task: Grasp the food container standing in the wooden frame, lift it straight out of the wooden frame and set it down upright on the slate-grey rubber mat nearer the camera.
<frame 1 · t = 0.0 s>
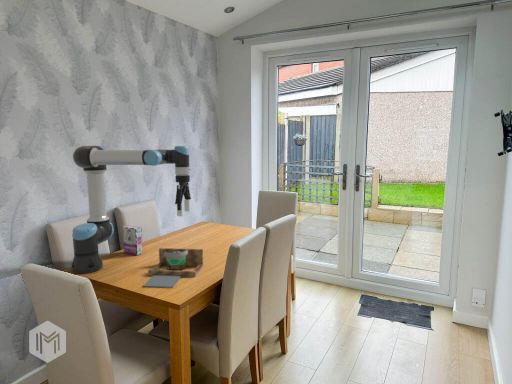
hand: (183, 213, 195), 28 cm above the table, fingers open, 13 cm apart
mat: (162, 281, 172), on the table
candy bar box: (133, 253, 216), on the table
food container: (176, 270, 187), resting in wooden frame
wooden frame: (176, 270, 187), on the table
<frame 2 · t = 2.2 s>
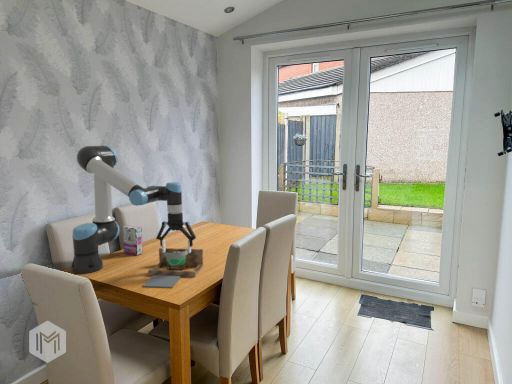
hand: (176, 252, 186), 10 cm above the table, fingers open, 13 cm apart
food container: (176, 270, 187), resting in wooden frame, touching gripper
everything else where it was.
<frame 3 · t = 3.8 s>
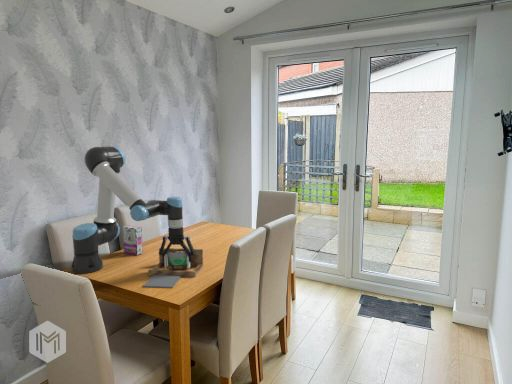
hand: (177, 267, 187), 1 cm above the table, fingers closed on food container, 11 cm apart
food container: (179, 270, 187), resting in wooden frame, touching gripper
everything else where it was.
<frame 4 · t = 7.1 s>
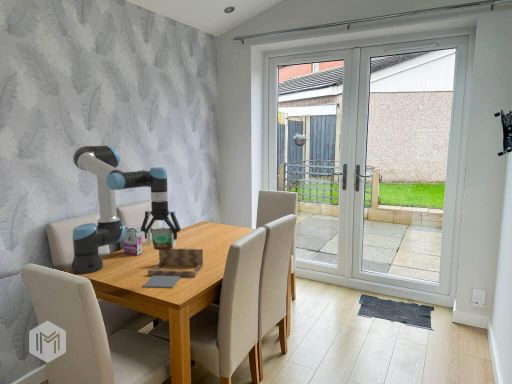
hand: (161, 245, 169), 18 cm above the table, fingers closed on food container, 11 cm apart
food container: (163, 249, 170), point 16 cm above the table, touching gripper
everything else where it was.
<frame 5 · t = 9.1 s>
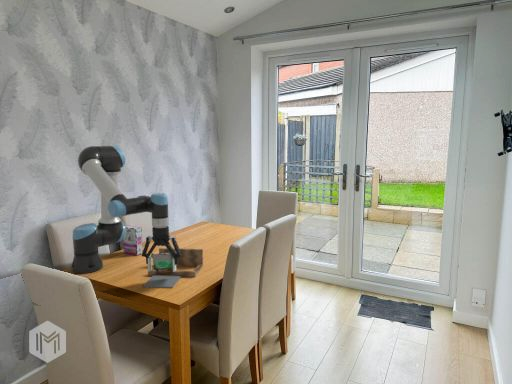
hand: (162, 270, 171), 5 cm above the table, fingers closed on food container, 11 cm apart
food container: (164, 273, 171), point 4 cm above the table, touching gripper
everything else where it was.
when the fingers open (3 cm above the table, at t = 10.8 s): food container stays where it is, resting on mat.
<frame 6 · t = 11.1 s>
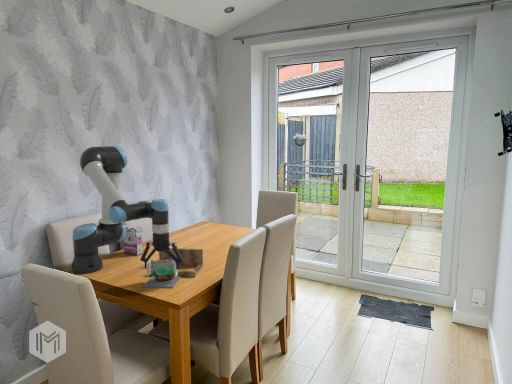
hand: (162, 275, 171), 3 cm above the table, fingers open, 13 cm apart
food container: (164, 280, 172), resting on mat
everything else where it was.
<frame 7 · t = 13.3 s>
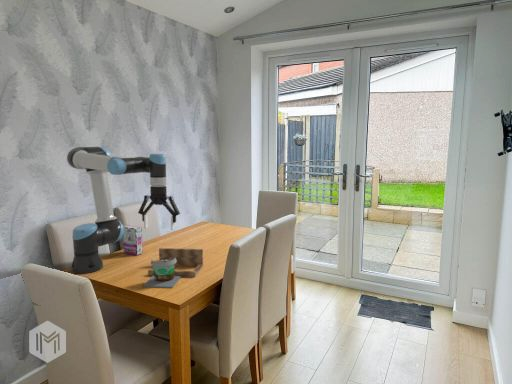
hand: (159, 228, 176), 24 cm above the table, fingers open, 13 cm apart
nothing on the table moved.
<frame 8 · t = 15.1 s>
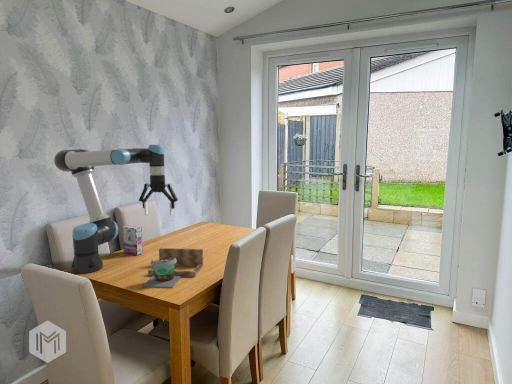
hand: (158, 214, 188), 29 cm above the table, fingers open, 13 cm apart
nothing on the table moved.
at the end: food container inside the target area on the mat (1.0 cm from its centre), point 0.4 cm above the mat's base; food container tilted 0°; the gripper is holding nothing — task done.
